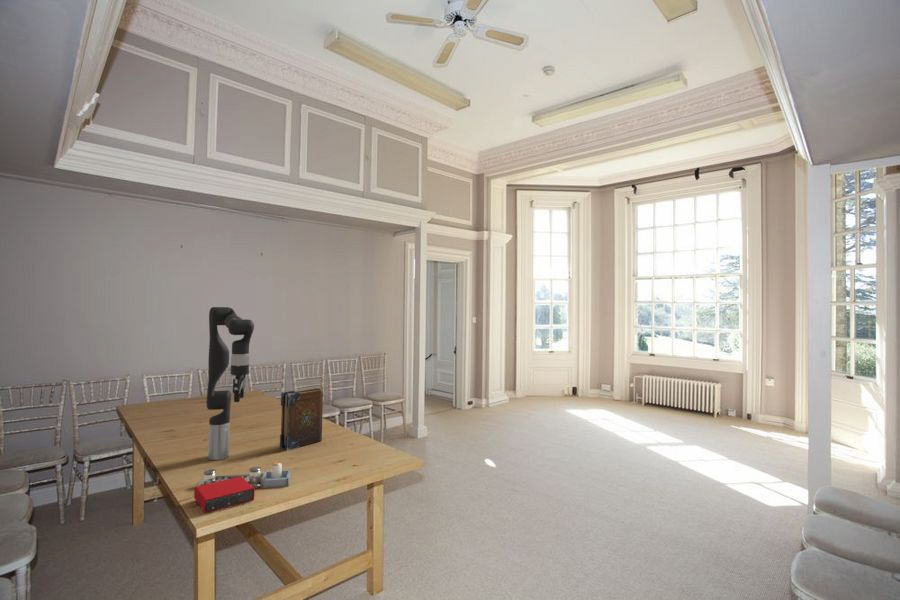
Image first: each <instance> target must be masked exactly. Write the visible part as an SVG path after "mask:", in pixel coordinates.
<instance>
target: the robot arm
mask: <svg viewBox="0 0 900 600" xmlns="http://www.w3.org/2000/svg"><path fill="white" fill-rule="evenodd" d="M208 326H209V327H208V328H209V329H208V331H209V344H208V345H209V346H208V379H207V391H206V403H205V404H206V408H207V410H209V411H212V410H213V411H215V410H222V411H221V412H220V413H218V414H215V415H212V416H210V417H209V420H208V445H207V446H208V447H207V448H208V449H207V450H208V451H207V452H208V453H207V459H208V460H210V461H219V460H225V459H227V458H229V455H230V453H229V452H230V431H231V430H230V429H231V428H230V427H231V426H230V425H231V424H230V423H231V421H230V419H231V403H232V393H233V402H234V403H239V402H240V401H241V400H240V399H243V398H244V393H245V388H246V375H248V374H250V342H251V338H252V335H253V333H254V330H255V324H254V322H253V320H251V319H249V318H248V319H243V318H242V317H240V316H238V314H237V313H236V312H235V310H234V309H233V308H232V307H227V306H226V307H225V306H211V307H210V309H209V311H208ZM218 326H225V327H226V328H227V331H228V333H229V334H230V335H232V336H242V338H240V339H237V340H234V341H233V342H232V343H231V357H230V350H229V348H228V346H227V344H225V342H224V341H223V339H222V337H221V336H220V333H219V330H218ZM229 364H230V373H229V374H230V376H231V375H232V376H235V378H233V380H232V392H231V390H215V388H216V386H217V384H218V382H219V380H220V378H221V377H222V376H223V374H225V371H226V370H227V368H229Z"/></svg>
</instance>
